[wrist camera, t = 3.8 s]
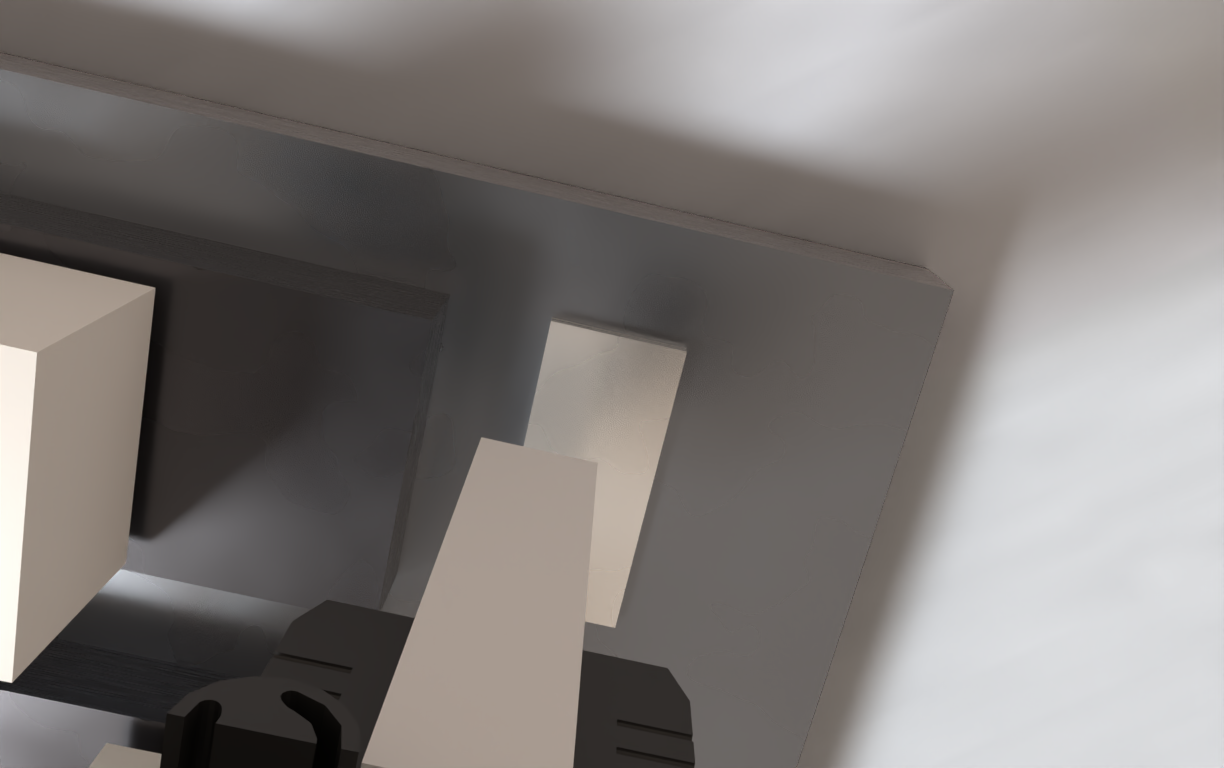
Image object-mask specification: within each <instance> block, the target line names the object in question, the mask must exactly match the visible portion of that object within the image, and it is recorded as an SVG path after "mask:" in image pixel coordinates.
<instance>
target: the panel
mask: <svg viewBox="0 0 1224 768" xmlns="http://www.w3.org/2000/svg"><path fill="white" fill-rule="evenodd" d="M0 253H3V254H7V255H12V256H16V257H21V258H25V259H29V260H34V261H38V262H43V263H47V264H52V265H56V266H61V267H65V268H70V269H74V270H78V271H83V272H87V273H92V274H96V275H101V276H105V277H110V278H114V279H119V280H123V281H128V282H132V283H136V284H141V285H145V286H150V287H154V288H155V298H154V307H153V316H152V326H151V335H150V344H149V354H148V363H147V372H146V381H145V391H144V400H143V409H142V419H141V428H140V437H139V447H138V456H137V465H136V475H135V484H134V493H133V503H132V512H131V521H130V530H129V540H128V549H127V558H126V563H125V564H124V565H123V566H122V568H121V569H120V570H119V571H118V572H117V573H116V574H115V575H114V576H113V577H112V578H111V579H110V580H109V581H108V582H107V583H106V584H105V585H104V587H103V588H102V589H101V590H100V591H99V592H98V593H97V594H96V595H95V596H94V597H93V598H92V599H91V600H90V601H89V602H88V603H87V604H86V605H85V607H84V608H83V609H82V610H81V611H80V612H79V613H78V614H77V615H76V616H75V617H74V618H73V619H72V620H71V621H70V622H69V623H68V624H67V626H66V627H65V628H64V629H63V630H62V631H61V632H60V633H59V634H58V635H57V636H56V637H55V638H54V639H53V640H52V641H51V642H50V643H49V644H48V646H47V647H46V648H45V649H44V650H43V651H42V652H41V653H40V654H39V655H38V656H37V657H36V658H35V659H34V660H33V661H32V662H31V663H30V665H29V666H28V667H27V668H26V669H25V670H24V671H23V672H22V673H21V674H20V675H19V676H18V677H17V678H16V679H15V680H14V681H13V682H12V683H10V682H5V681H0V768H89V766H90V765H91V763H92V762H93V761H94V759H95V758H96V757H97V755H98V754H99V753H100V751H101V750H102V749H103V747H104V746H105V744H106V743H110V744H115V745H120V746H125V747H129V748H134V749H139V750H144V751H149V752H154V753H159V754H162V747H163V739H164V731H165V723H166V715H167V713H168V712H169V711H170V710H171V709H172V708H173V707H174V706H175V705H176V704H177V703H178V702H179V701H181V700H182V699H183V698H184V697H185V696H186V695H187V694H188V693H191V692H193V691H196V690H198V689H201V688H203V687H205V686H208V685H210V684H213V683H215V682H217V681H222V680H229V679H237V678H244V677H251V676H260V677H261V675H262V673H263V671H264V670H265V668H266V666H267V664H268V663H269V661H270V659H271V657H272V658H273V657H274V653H275V650H276V649H277V647H278V645H279V643H280V642H281V640H282V638H283V636H284V635H285V633H286V631H287V629H288V628H289V626H290V624H291V622H292V621H293V620H295V619H296V618H298V617H300V616H301V615H303V614H305V613H306V612H308V611H309V610H311V609H313V608H314V607H316V606H318V605H319V604H321V603H323V602H324V601H326V600H332V601H337V602H341V603H346V604H351V605H355V606H360V607H365V608H370V609H374V610H379V611H384V612H388V613H393V614H398V615H403V616H407V617H412V618H415V616H416V614H417V611H418V608H419V605H420V603H421V600H422V597H423V595H424V592H425V589H426V586H427V584H428V581H429V578H430V575H431V573H432V570H433V567H434V565H435V562H436V559H437V556H438V554H439V551H440V548H441V546H442V543H443V540H444V537H445V535H446V532H447V529H448V527H449V524H450V521H451V518H452V516H453V513H454V510H455V508H456V505H457V502H458V499H459V497H460V494H461V491H462V488H463V486H464V483H465V480H466V478H467V475H468V472H469V469H470V467H471V464H472V461H473V459H474V456H475V453H476V450H477V448H478V445H479V442H480V440H481V437H483V438H487V439H492V440H496V441H501V442H505V443H510V444H514V445H519V446H523V447H528V448H532V449H537V450H541V451H546V452H550V453H555V454H560V455H564V456H569V457H573V458H578V459H582V460H587V461H591V462H596V463H598V464H597V476H596V489H595V501H594V514H593V526H592V539H591V551H590V563H589V576H588V588H587V601H586V613H585V626H584V638H583V650H585V651H590V652H594V653H599V654H604V655H608V656H613V657H618V658H623V659H627V660H632V661H637V662H641V663H646V664H651V665H655V666H660V667H665V668H668V669H669V671H670V672H671V674H672V675H673V677H674V678H675V680H676V681H677V682H678V684H679V685H680V687H681V688H682V690H683V691H684V693H685V694H686V696H687V697H688V699H689V700H690V707H691V719H692V730H693V737H692V741H693V742H694V754H695V767H694V768H796V767H797V764H798V761H799V758H800V755H801V752H802V749H803V746H804V743H805V740H806V737H807V734H808V731H809V728H810V725H811V722H812V719H813V716H814V713H815V710H816V707H817V704H818V701H819V698H820V695H821V692H822V689H823V686H824V683H825V680H826V677H827V673H828V670H829V667H830V664H831V661H832V658H833V655H834V652H835V649H836V646H837V643H838V640H839V637H840V634H841V631H842V628H843V625H844V622H845V619H846V616H847V613H848V610H849V607H850V604H851V601H852V598H853V595H854V592H855V589H856V586H857V583H858V580H859V577H860V573H861V570H862V567H863V564H864V561H865V558H866V555H867V552H868V549H869V546H870V543H871V540H872V537H873V534H874V531H875V528H876V525H877V522H878V519H879V516H880V513H881V510H882V507H883V504H884V501H885V498H886V495H887V492H888V489H889V486H890V483H891V480H892V477H893V473H894V470H895V467H896V464H897V461H898V458H899V455H900V452H901V449H902V446H903V443H904V440H905V437H906V434H907V431H908V428H909V425H910V422H911V419H912V416H913V413H914V410H915V407H916V404H917V401H918V398H919V395H920V392H921V389H922V386H923V383H924V380H925V376H926V373H927V370H928V367H929V364H930V361H931V358H932V355H933V352H934V349H935V346H936V343H937V340H938V337H939V334H940V331H941V328H942V325H943V322H944V319H945V316H946V313H947V310H948V307H949V304H950V301H951V298H952V295H953V292H954V290H953V289H952V288H950V287H949V286H948V285H947V284H946V283H944V282H943V281H942V280H941V279H940V278H938V277H937V276H936V275H935V274H934V273H932V272H931V271H930V270H929V269H926V268H922V267H918V266H914V265H909V264H905V263H901V262H896V261H892V260H888V259H884V258H879V257H875V256H871V255H866V254H862V253H858V252H854V251H849V250H845V249H841V248H836V247H832V246H828V245H824V244H819V243H815V242H811V241H806V240H802V239H798V238H793V237H789V236H785V235H781V234H776V233H772V232H768V231H763V230H759V229H755V228H751V227H746V226H742V225H738V224H733V223H729V222H725V221H721V220H716V219H712V218H708V217H703V216H699V215H695V214H691V213H686V212H682V211H678V210H673V209H669V208H665V207H660V206H656V205H652V204H648V203H643V202H639V201H635V200H630V199H626V198H622V197H618V196H613V195H609V194H605V193H600V192H596V191H592V190H588V189H583V188H579V187H575V186H570V185H566V184H562V183H558V182H553V181H549V180H545V179H540V178H536V177H532V176H528V175H523V174H519V173H515V172H510V171H506V170H502V169H497V168H493V167H489V166H485V165H480V164H476V163H472V162H467V161H463V160H459V159H455V158H450V157H446V156H442V155H437V154H433V153H429V152H425V151H420V150H416V149H412V148H407V147H403V146H399V145H395V144H390V143H386V142H382V141H377V140H373V139H369V138H365V137H360V136H356V135H352V134H347V133H343V132H339V131H334V130H330V129H326V128H322V127H317V126H313V125H309V124H304V123H300V122H296V121H292V120H287V119H283V118H279V117H274V116H270V115H266V114H262V113H257V112H253V111H249V110H244V109H240V108H236V107H232V106H227V105H223V104H219V103H214V102H210V101H206V100H202V99H197V98H193V97H189V96H184V95H180V94H176V93H171V92H167V91H163V90H159V89H154V88H150V87H146V86H141V85H137V84H133V83H129V82H124V81H120V80H116V79H111V78H107V77H103V76H99V75H94V74H90V73H86V72H81V71H77V70H73V69H69V68H64V67H60V66H56V65H51V64H47V63H43V62H39V61H34V60H30V59H26V58H21V57H17V56H13V55H8V54H4V53H0Z"/></svg>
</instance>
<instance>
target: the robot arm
mask: <svg viewBox="0 0 1224 768" xmlns="http://www.w3.org/2000/svg"><path fill="white" fill-rule="evenodd" d="M597 464H598V463H596V462H591V461H587V460H582V459H578V458H573V457H569V456H564V455H560V454H555V453H550V452H546V451H541V450H537V449H532V448H528V447H523V446H519V445H514V444H510V443H505V442H501V441H496V440H492V439H487V438H483V437H481V440H480V442H479V445H478V448H477V450H476V453H475V456H474V459H473V461H472V464H471V467H470V469H469V472H468V475H467V478H466V480H465V483H464V486H463V488H462V491H461V494H460V497H459V499H458V502H457V505H456V508H455V510H454V513H453V516H452V518H451V521H450V524H449V527H448V529H447V532H446V535H445V537H444V540H443V543H442V546H441V548H440V551H439V554H438V556H437V559H436V562H435V565H434V567H433V570H432V573H431V575H430V578H429V581H428V584H427V586H426V589H425V592H424V595H423V597H422V600H421V603H420V605H419V608H418V611H417V614H416V616H415V618H412V617H407V616H403V615H398V614H393V613H388V612H384V611H379V610H374V609H370V608H365V607H360V606H355V605H351V604H346V603H341V602H337V601H332V600H326V601H324V602H323V603H321V604H319V605H318V606H316V607H314V608H313V609H311V610H309V611H308V612H306V613H305V614H303V615H301V616H300V617H298V618H296V619H295V620H293V621H292V622H291V624H290V626H289V628H288V629H287V631H286V633H285V635H284V636H283V638H282V640H281V642H280V643H279V645H278V647H277V649H276V650H275V653H274V657H273V658H272V657H271V659H270V661H269V663H268V664H267V666H266V668H265V670H264V671H263V673H262V675H261V677H260V676H251V677H244V678H237V679H229V680H222V681H217V682H215V683H213V684H210V685H208V686H205V687H203V688H201V689H198V690H196V691H193V692H191V693H188V694H187V695H186V696H185V697H184V698H183V699H182V700H181V701H179V702H178V703H177V704H176V705H175V706H174V707H173V708H172V709H171V710H170V711H169V712H168V713H167V715H166V723H165V731H164V739H163V747H162V754H161V762H160V768H694V767H695V754H694V742H693V741H692V737H693V730H692V719H691V707H690V700H689V699H688V697H687V696H686V694H685V693H684V691H683V690H682V688H681V687H680V685H679V684H678V682H677V681H676V680H675V678H674V677H673V675H672V674H671V672H670V671H669V669H668V668H665V667H660V666H655V665H651V664H646V663H641V662H637V661H632V660H627V659H623V658H618V657H613V656H608V655H604V654H599V653H594V652H590V651H585V650H583V638H584V626H585V613H586V601H587V588H588V576H589V563H590V551H591V539H592V526H593V514H594V501H595V489H596V476H597Z"/></svg>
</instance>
